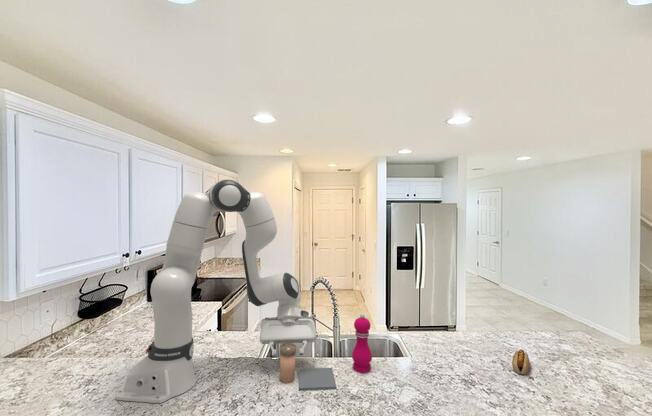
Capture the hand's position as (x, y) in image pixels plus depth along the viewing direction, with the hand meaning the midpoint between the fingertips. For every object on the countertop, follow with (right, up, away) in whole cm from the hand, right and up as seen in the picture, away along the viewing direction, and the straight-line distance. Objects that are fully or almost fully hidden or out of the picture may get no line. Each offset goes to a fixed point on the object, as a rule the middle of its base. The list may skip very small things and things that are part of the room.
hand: (287, 355), depth 104 cm
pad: (+10, -8, -2) cm, 13 cm away
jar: (0, -7, -2) cm, 8 cm away
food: (+86, -9, +8) cm, 87 cm away
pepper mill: (+26, -8, +6) cm, 28 cm away
